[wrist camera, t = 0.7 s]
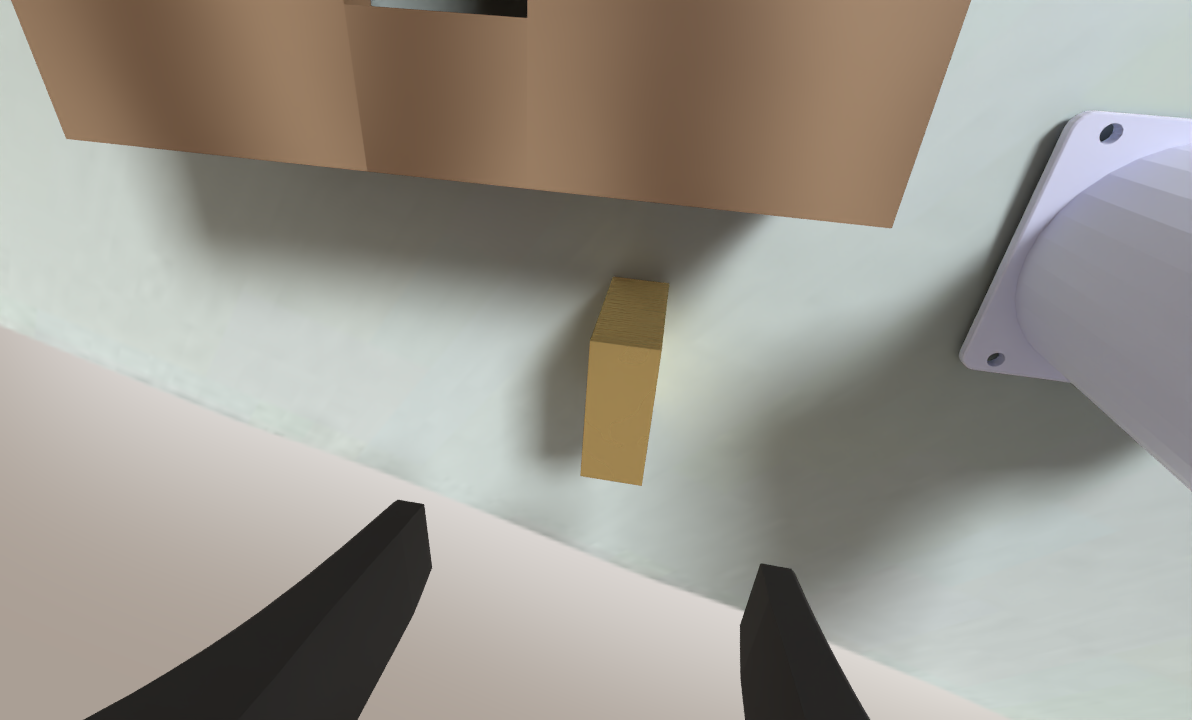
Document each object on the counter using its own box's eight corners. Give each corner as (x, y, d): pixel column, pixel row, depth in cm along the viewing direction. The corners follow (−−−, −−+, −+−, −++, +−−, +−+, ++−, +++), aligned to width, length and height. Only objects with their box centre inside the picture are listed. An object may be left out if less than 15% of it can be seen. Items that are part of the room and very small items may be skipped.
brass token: (669, 283, 19) (661, 350, 15) (652, 399, 22) (641, 485, 18) (613, 276, 20) (590, 340, 15) (602, 392, 22) (580, 475, 18)
